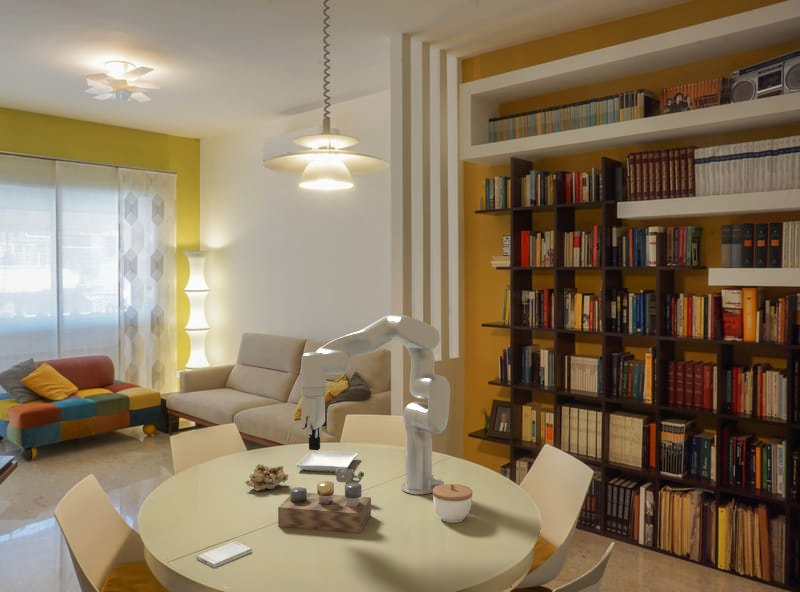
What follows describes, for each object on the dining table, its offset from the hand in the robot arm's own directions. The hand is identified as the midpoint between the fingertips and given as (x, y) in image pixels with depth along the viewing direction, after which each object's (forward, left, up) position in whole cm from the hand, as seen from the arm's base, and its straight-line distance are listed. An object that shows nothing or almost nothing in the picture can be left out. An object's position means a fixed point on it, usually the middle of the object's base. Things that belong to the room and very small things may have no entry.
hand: (314, 449), depth 199 cm
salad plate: (+13, -56, -23) cm, 62 cm away
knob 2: (-13, 0, -19) cm, 23 cm away
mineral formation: (+26, -26, -23) cm, 43 cm away
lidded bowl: (-43, -10, -23) cm, 49 cm away
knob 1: (+5, 0, -21) cm, 22 cm away
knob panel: (-4, 0, -23) cm, 23 cm away
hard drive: (+16, +29, -23) cm, 41 cm away
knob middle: (-4, 0, -19) cm, 19 cm away
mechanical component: (-6, -20, -23) cm, 31 cm away
